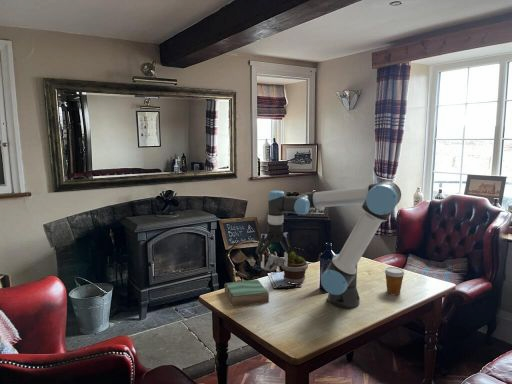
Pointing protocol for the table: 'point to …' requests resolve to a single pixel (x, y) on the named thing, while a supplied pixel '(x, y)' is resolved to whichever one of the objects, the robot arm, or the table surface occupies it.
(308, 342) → the table surface
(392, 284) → the disposable coffee cup
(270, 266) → the mineral specimen
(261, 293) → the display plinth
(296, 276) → the flowerpot
